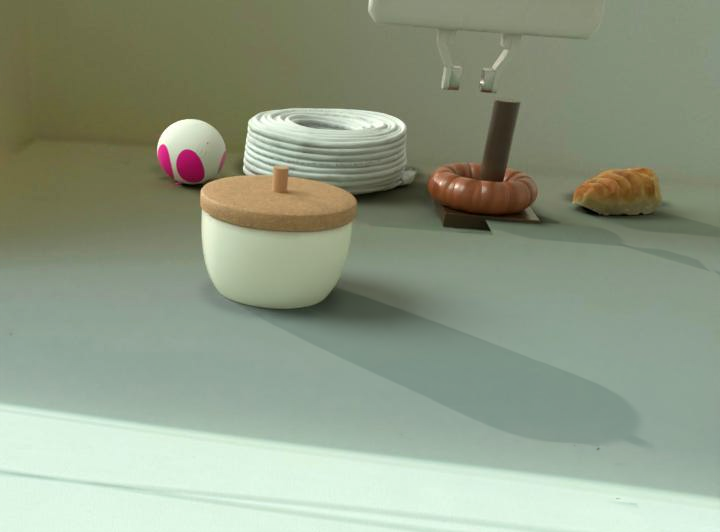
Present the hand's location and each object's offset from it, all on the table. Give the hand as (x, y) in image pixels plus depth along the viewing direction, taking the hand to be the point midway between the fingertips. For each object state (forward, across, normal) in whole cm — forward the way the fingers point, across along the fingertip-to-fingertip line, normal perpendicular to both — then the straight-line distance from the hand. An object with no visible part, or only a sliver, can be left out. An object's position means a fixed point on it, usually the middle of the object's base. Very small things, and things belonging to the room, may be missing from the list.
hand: (468, 90), depth 84 cm
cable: (+11, +12, -10) cm, 19 cm away
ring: (+8, -3, 0) cm, 9 cm away
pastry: (+11, -19, -8) cm, 23 cm away
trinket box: (+11, +16, +31) cm, 37 cm away
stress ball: (+11, +26, -4) cm, 29 cm away
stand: (+11, -4, 0) cm, 11 cm away
